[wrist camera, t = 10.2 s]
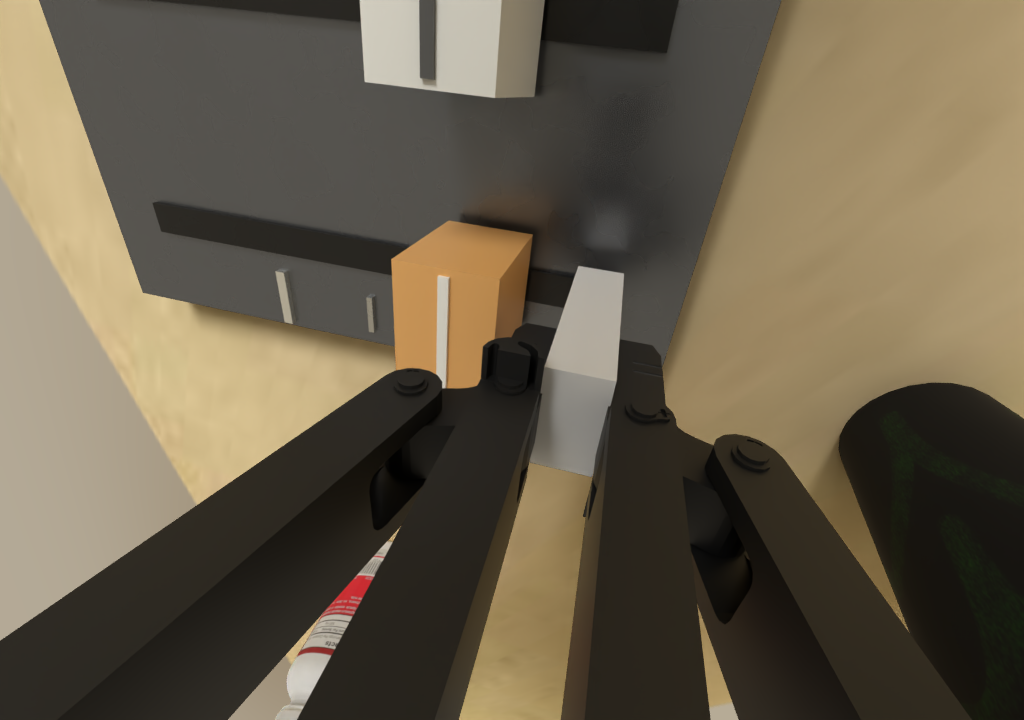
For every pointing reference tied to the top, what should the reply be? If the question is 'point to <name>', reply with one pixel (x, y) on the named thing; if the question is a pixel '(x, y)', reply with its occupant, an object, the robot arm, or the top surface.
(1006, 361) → the top surface
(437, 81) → the fader
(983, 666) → the cup
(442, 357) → the fader
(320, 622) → the pill bottle
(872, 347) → the top surface
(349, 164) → the console
